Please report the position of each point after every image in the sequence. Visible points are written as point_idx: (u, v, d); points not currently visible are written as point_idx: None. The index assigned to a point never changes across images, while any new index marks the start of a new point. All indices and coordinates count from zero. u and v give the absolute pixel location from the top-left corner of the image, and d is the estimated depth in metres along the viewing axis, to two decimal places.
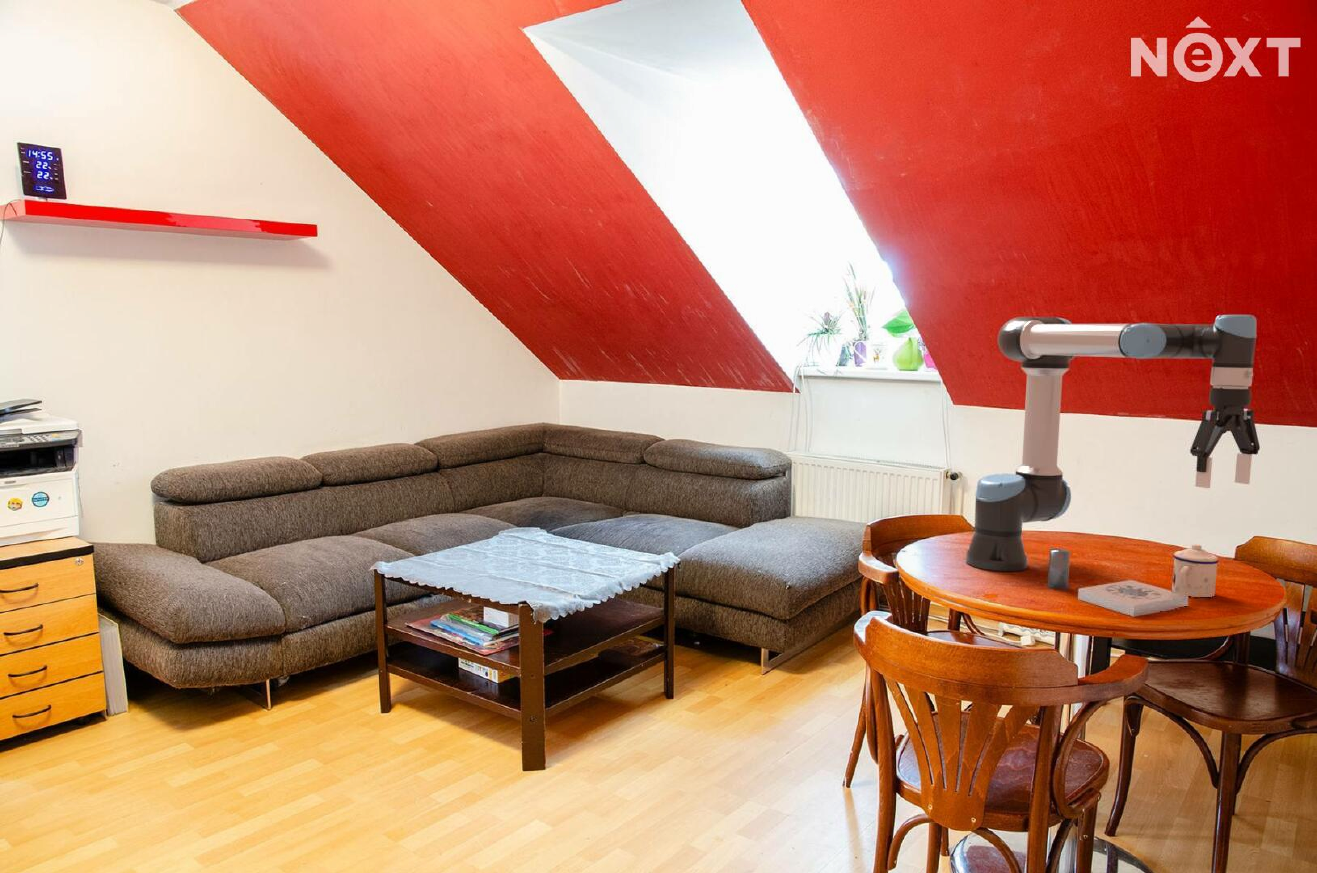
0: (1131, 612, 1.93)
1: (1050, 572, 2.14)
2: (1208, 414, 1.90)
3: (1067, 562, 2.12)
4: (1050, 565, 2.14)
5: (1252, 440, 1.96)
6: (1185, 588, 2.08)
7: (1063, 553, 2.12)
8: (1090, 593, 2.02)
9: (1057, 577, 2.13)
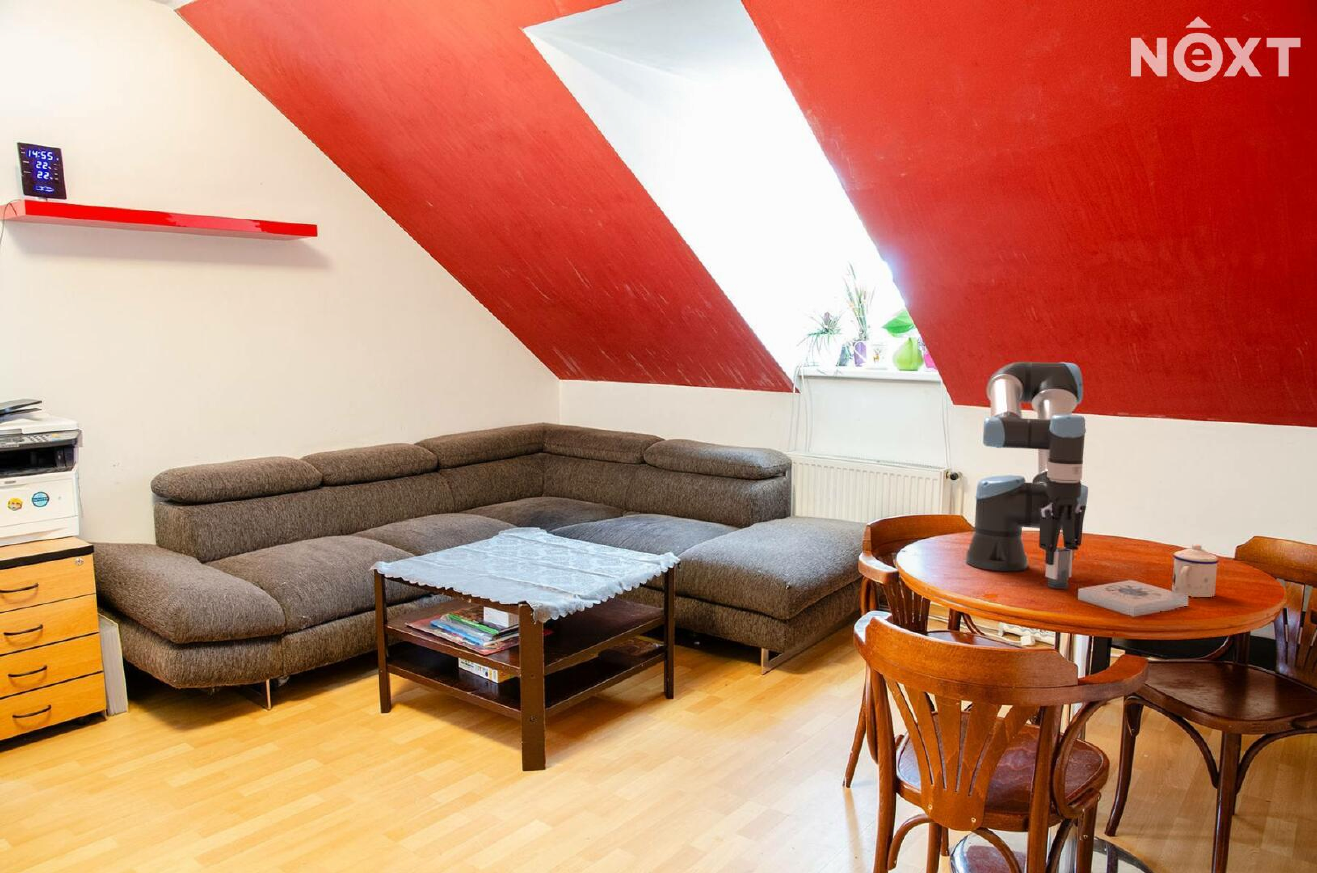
0: (1131, 612, 1.93)
1: None
2: (1042, 513, 2.10)
3: (1067, 561, 2.12)
4: None
5: (1076, 534, 2.15)
6: (1185, 588, 2.08)
7: (1063, 552, 2.12)
8: (1090, 593, 2.02)
9: (1057, 576, 2.13)
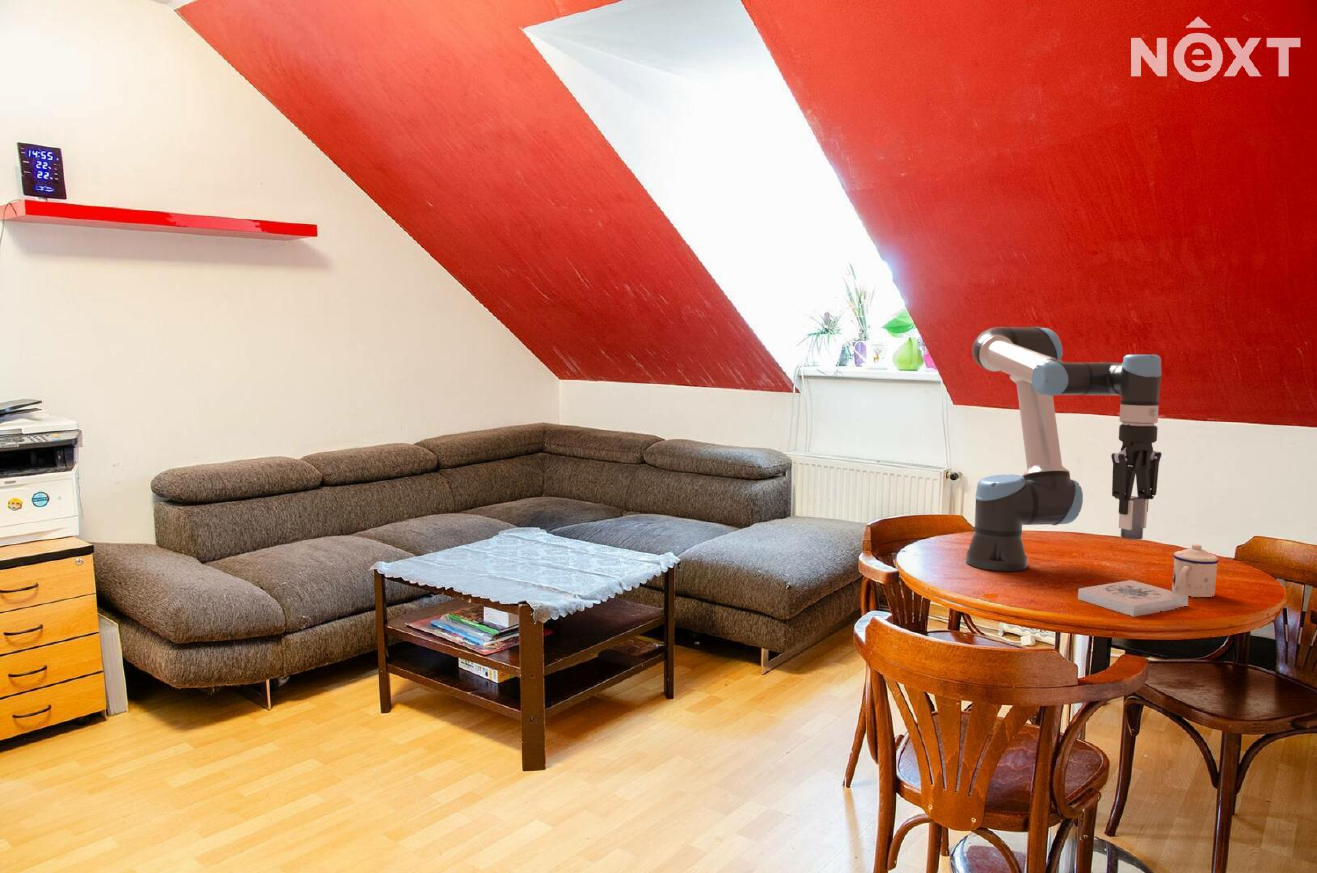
0: (1131, 612, 1.93)
1: None
2: (1116, 458, 1.97)
3: (1142, 510, 1.99)
4: None
5: (1151, 483, 2.01)
6: (1185, 588, 2.08)
7: (1138, 500, 1.98)
8: (1090, 593, 2.02)
9: None
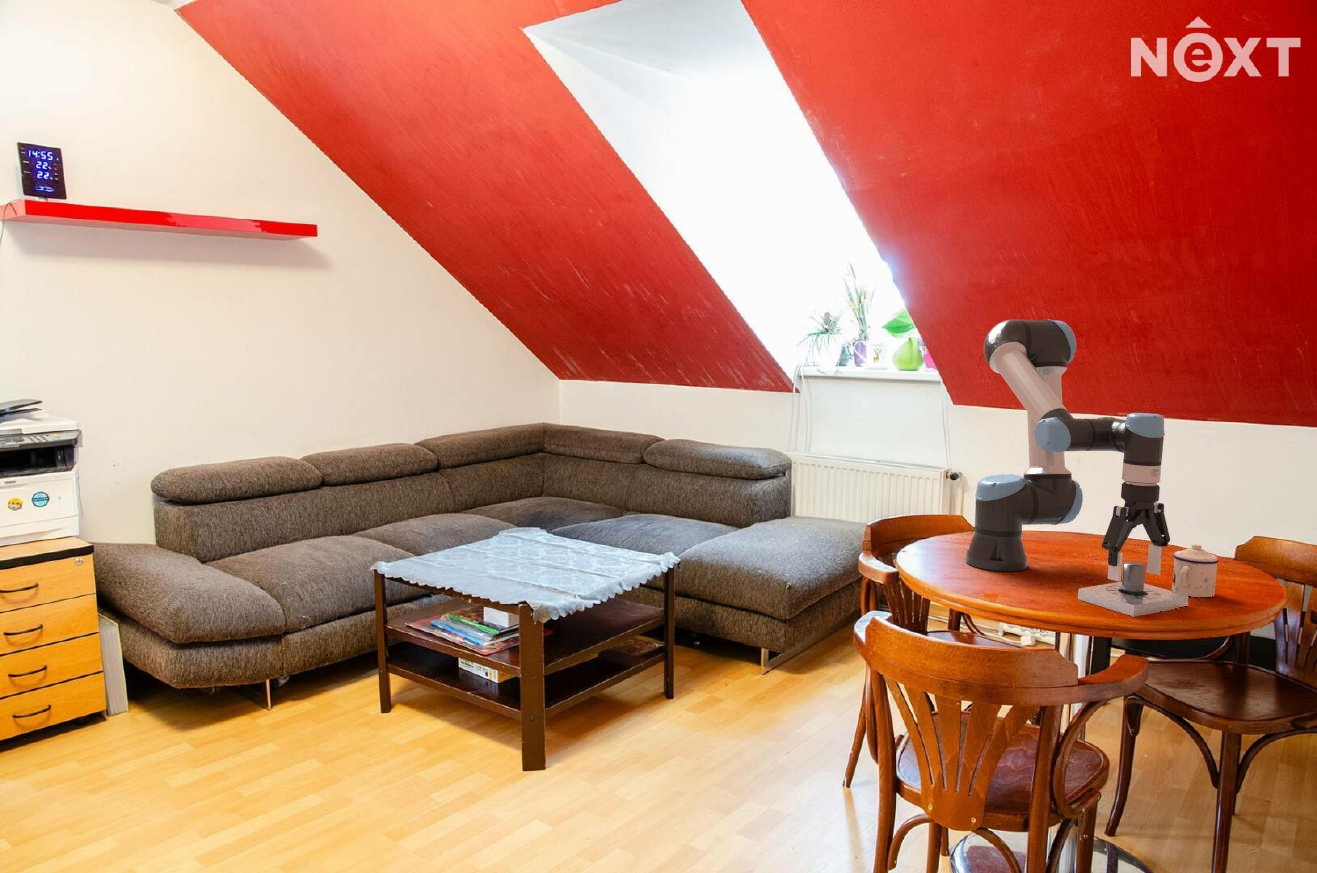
0: (1131, 612, 1.93)
1: (1124, 587, 2.02)
2: (1118, 510, 1.97)
3: (1143, 576, 2.00)
4: (1124, 579, 2.02)
5: (1163, 532, 2.04)
6: (1185, 588, 2.08)
7: (1138, 567, 2.00)
8: (1090, 593, 2.02)
9: (1132, 592, 2.00)
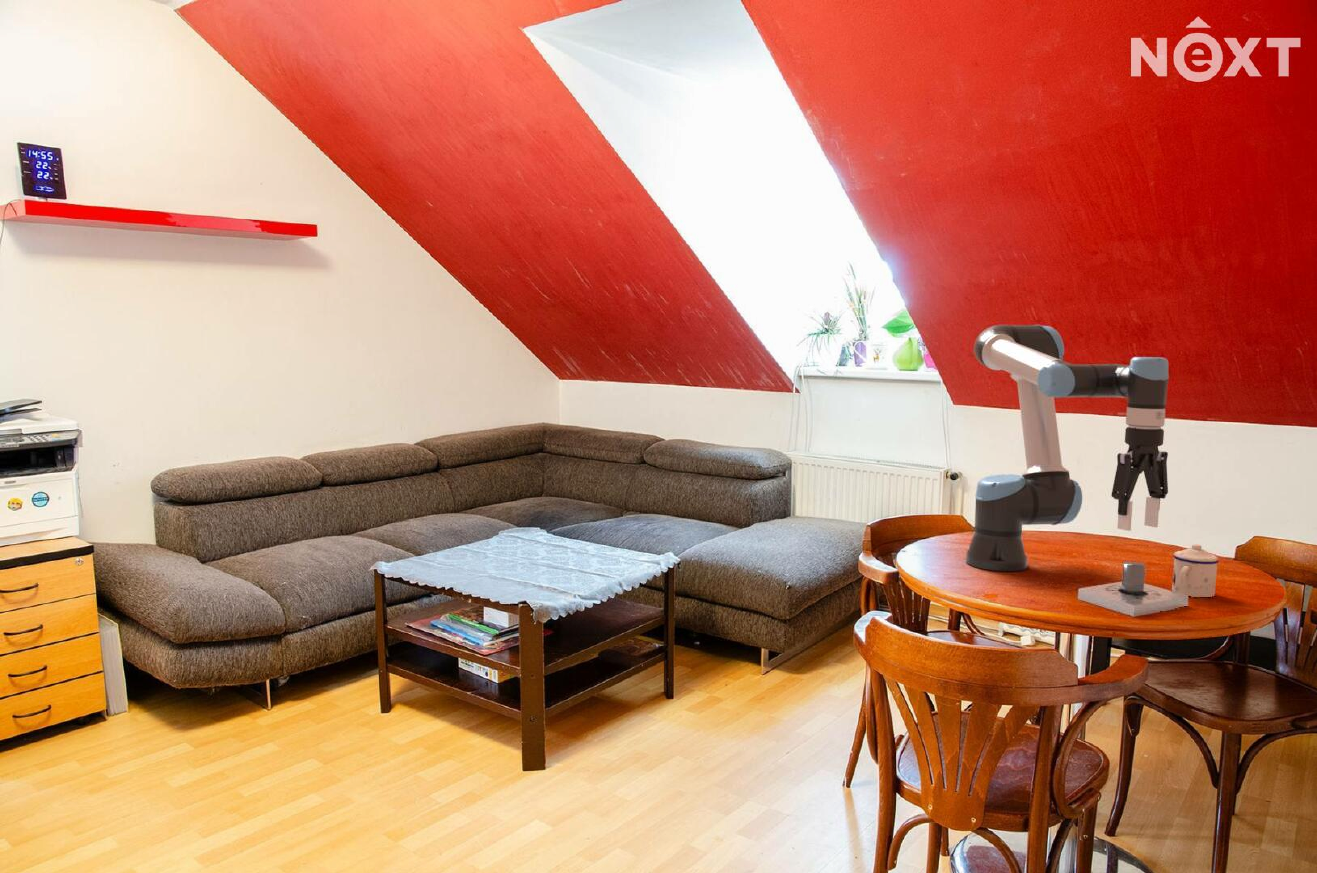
0: (1131, 612, 1.93)
1: (1124, 587, 2.02)
2: (1122, 458, 1.96)
3: (1142, 576, 2.00)
4: (1124, 579, 2.02)
5: (1162, 483, 2.02)
6: (1185, 588, 2.08)
7: (1138, 567, 2.00)
8: (1090, 593, 2.02)
9: (1132, 592, 2.00)
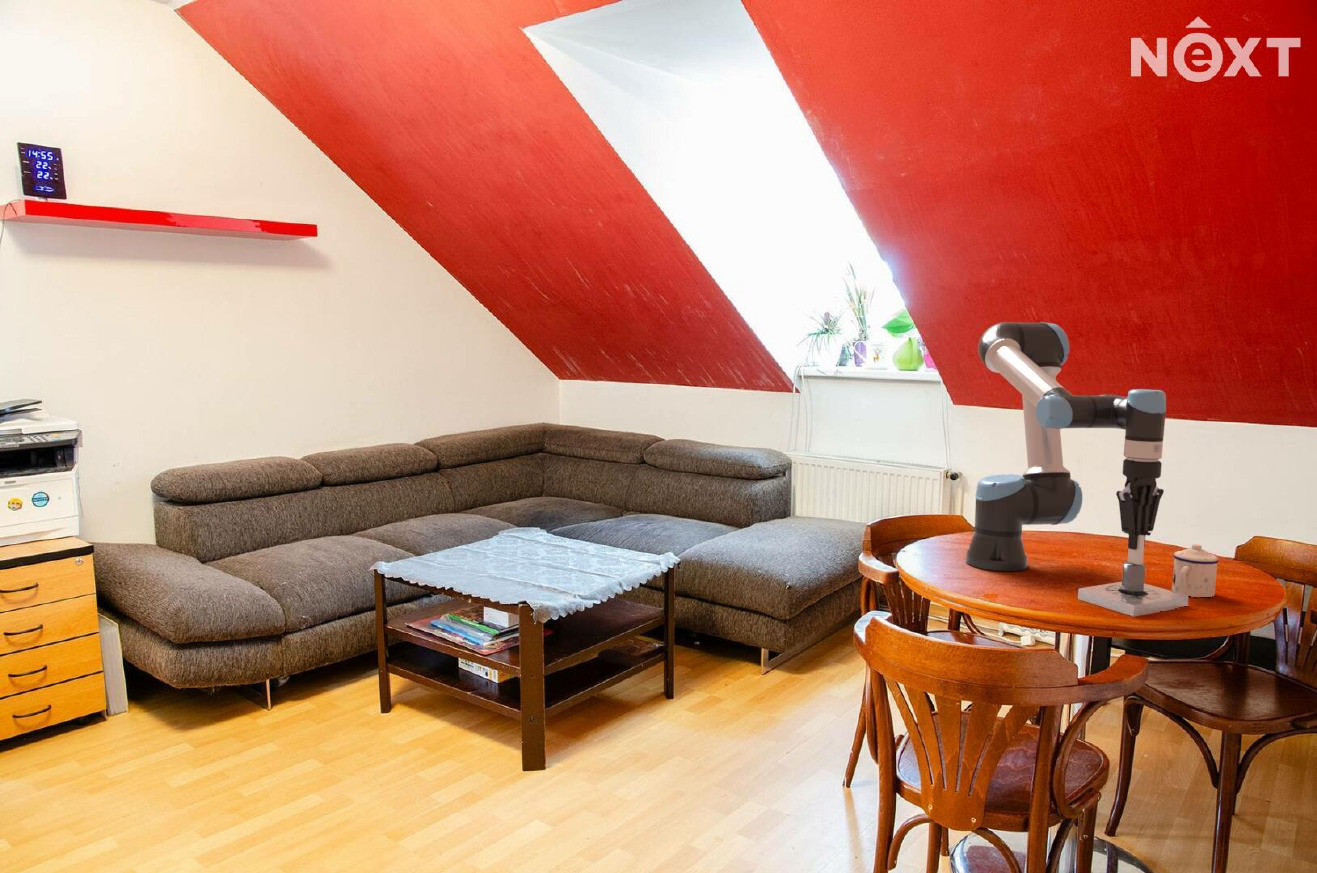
0: (1131, 612, 1.93)
1: (1124, 587, 2.02)
2: (1121, 496, 1.97)
3: (1142, 576, 2.00)
4: (1124, 579, 2.02)
5: (1150, 518, 2.01)
6: (1185, 588, 2.08)
7: (1138, 567, 2.00)
8: (1090, 593, 2.02)
9: (1132, 592, 2.00)
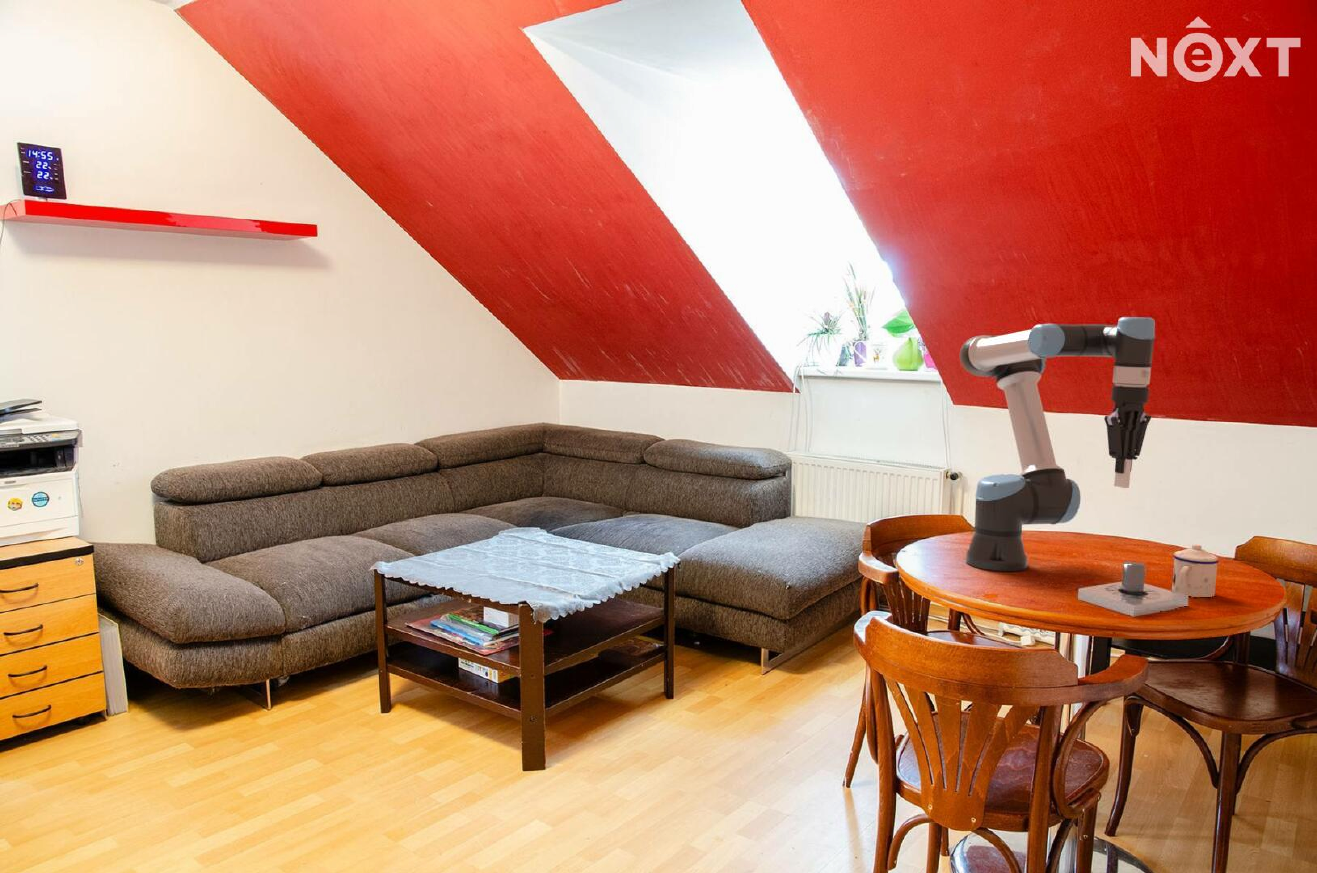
0: (1131, 612, 1.93)
1: (1124, 587, 2.02)
2: (1109, 421, 2.03)
3: (1142, 576, 2.00)
4: (1124, 579, 2.02)
5: (1137, 443, 2.07)
6: (1185, 588, 2.08)
7: (1138, 567, 2.00)
8: (1090, 593, 2.02)
9: (1132, 592, 2.00)
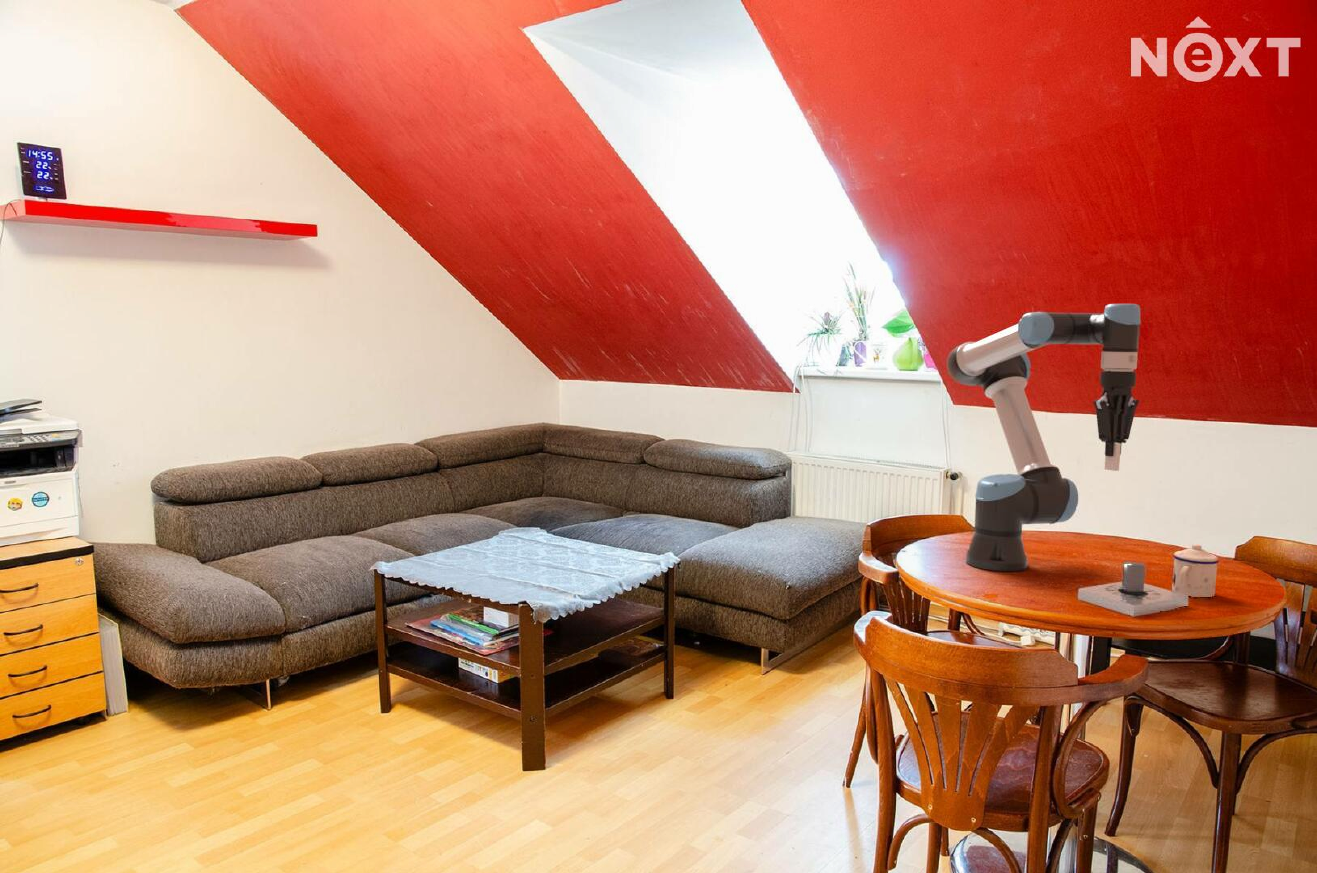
0: (1131, 612, 1.93)
1: (1124, 587, 2.02)
2: (1098, 405, 2.08)
3: (1142, 576, 2.00)
4: (1124, 579, 2.02)
5: (1126, 427, 2.12)
6: (1185, 588, 2.08)
7: (1138, 567, 2.00)
8: (1090, 593, 2.02)
9: (1132, 592, 2.00)
